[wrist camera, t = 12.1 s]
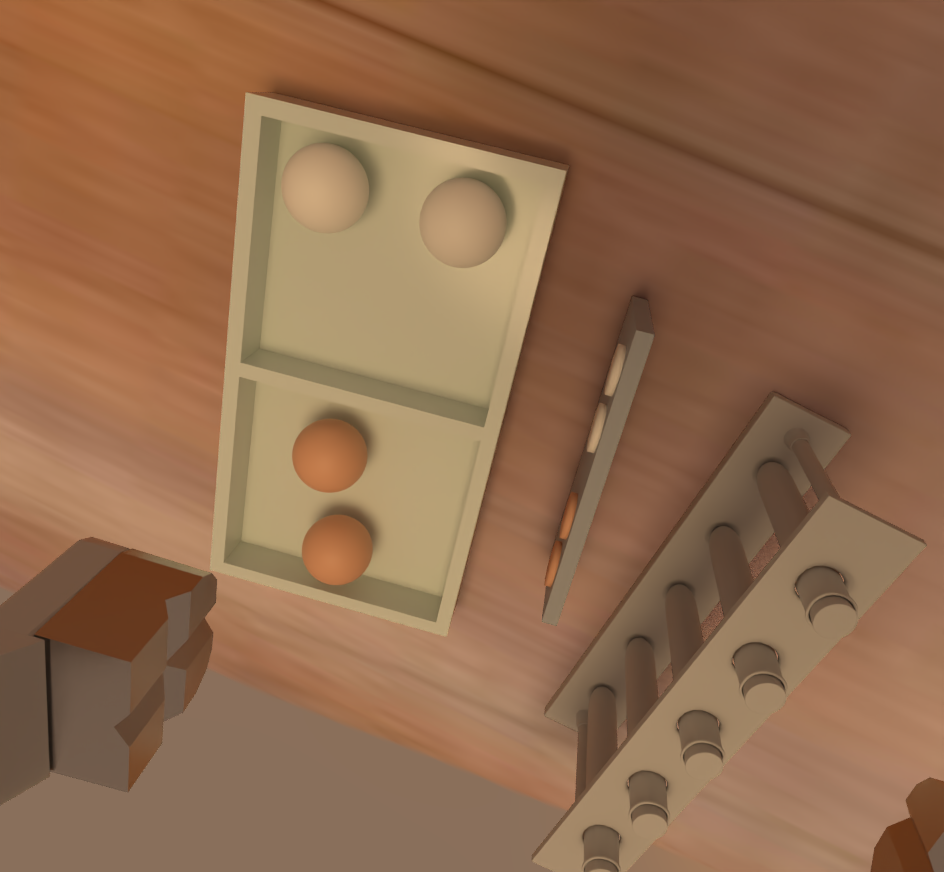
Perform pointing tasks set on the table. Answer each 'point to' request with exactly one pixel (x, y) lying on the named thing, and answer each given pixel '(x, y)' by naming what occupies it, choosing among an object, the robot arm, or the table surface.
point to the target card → (598, 454)
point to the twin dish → (371, 358)
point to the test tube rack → (716, 635)
